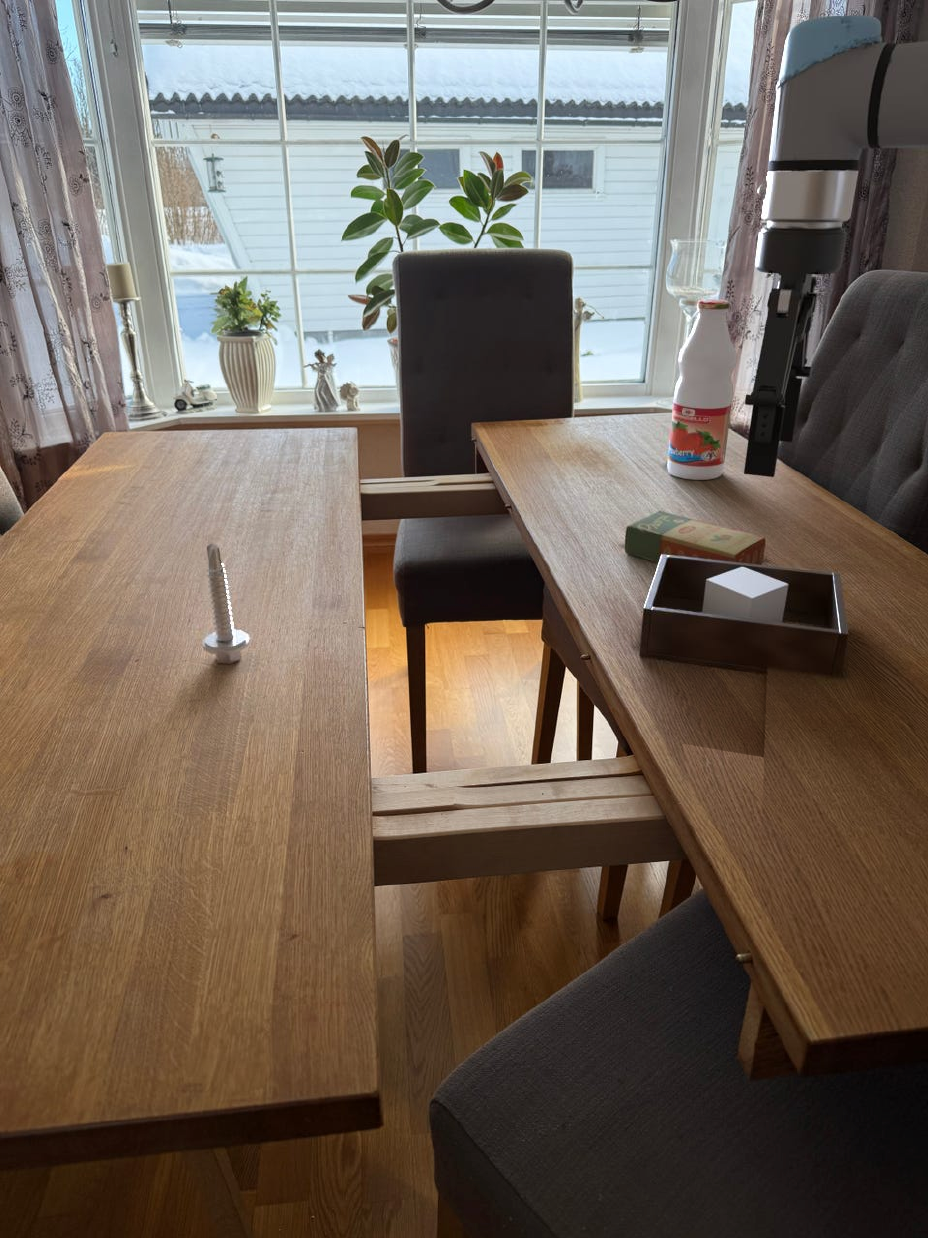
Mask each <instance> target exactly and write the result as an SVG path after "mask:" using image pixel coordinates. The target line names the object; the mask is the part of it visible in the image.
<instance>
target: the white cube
mask: <svg viewBox="0 0 928 1238" xmlns="http://www.w3.org/2000/svg"><path fill="white" fill-rule="evenodd" d="M787 590H788V584H787V583H784V582H782V581H779V580H776V579H774V578H771V577H769V576H766V575H763V574H761V573H758V572H756V571H753V570H750V569H748V568H745V567H740V568H737V569H734V570H731V571H729V572H726V573H723V574H720V575H717V576H714V577H712V578H709V579H706V586H705V594H704V602H703V610H702V613H707V614H715V615H723V616H731V617H739V618H747V619H755V620H763V621H771V622H779V623H783V621H782V619H783V614H784V608H785V602H786V596H787Z"/></svg>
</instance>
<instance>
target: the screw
mask: <svg viewBox="0 0 928 1238" xmlns="http://www.w3.org/2000/svg"><path fill="white" fill-rule="evenodd" d="M206 552H207V560H208V569H206V572H208V574H206V575H207V576H206V577H207V578H208V581H207V583H209V586H208V588H209V589H210V591H209V594H211V596H210V599H211V600H212V601H210V604H212V605H213V606H212V607H211V610H213V612H212V615H214V617H213V620H214V626H215V627H214V630H215V631H213V632H212V633H210V634H207V636H206V637H205V638H204V639H203V640H202V643H201V644H202V649H203V650H204V651H205V652H207V653H210V654H213V655H215V658H216V662H217V664H228V665H231V664H233V663H235V662H238V661H240V660H242V654H241V651H243V650H244V649H246V648H247V647H248V646H249V645H250V643H251V636H250V635H249V634H248V633H247V632H245V631H243V630H241V629H235V628H234V622H233V617H232V615H233V613H232V607H231V602H230V598H231V597H230V596H229V594H230V592H229V586H228V585H227V584H228V580H227V575H226V573H227V572H226V570H225V564H224V563H222V558H221V552H220V547H219V546H217V544H215V543H213V542H212V543H210V544H208V545H207V546H206Z"/></svg>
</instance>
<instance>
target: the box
mask: <svg viewBox="0 0 928 1238" xmlns="http://www.w3.org/2000/svg"><path fill="white" fill-rule="evenodd" d="M740 567H745V568H748V569H750V570H753V571H756V572H758V573H761V574H763V575H766V576H769V577H771V578H774V579H776V580H779V581H782V582H784V583H787V584H788V590H787V596H786V602H785V608H784V614H783V619H782V623H779V622H771V621H763V620H755V619H747V618H739V617H731V616H723V615H715V614H707V613H702V610H703V602H704V594H705V586H706V579H709V578H712V577H714V576H717V575H720V574H723V573H726V572H729V571H731V570H734V569H737V568H740ZM846 613H847V612H846V607H845V598H844V592H843V585H842V577H841V573H839V572H832V571H831V572H830V571H824V570H823V571H821V570H812V569H805V568H795V567H794V568H793V567H784V566H775V565H768V564H767V565H765V564H762V565H758V564H749V563H739V562H730V561H721V560H711V559H702V558H693V557H684V556H674V555H665V554H662V555H661V558H660V561H659V563H658V564H657V567H656V570H655V573H654V576H653V579H652V582H651V585H650V588H649V591H648V594H647V597H646V599H645V603H644V606H643V609H642V619H641V630H640V631H641V632H640V642H639V652H638V653H639V654H638V657H640V658H641V657H642V658H648V659H655V660H662V661H668V662H669V661H670V662H677V663H684V664H692V665H697V666H704V667H705V666H706V667H713V668H718V669H719V668H720V669H727V670H733V671H739V672H740V671H741V672H747V673H754V674H755V673H756V674H761V675H768V667H769V668H770V667H771V668H778V669H784V670H790V671H791V670H793V671H799V672H805V673H814V674H819V675H826V676H827V675H828V676H836V677H841V673H842V669H843V664H844V658H845V655H846V651H847V643H848V639H849V627H848V621H847V620H848V619H847V614H846ZM784 622H786V623H784ZM787 622H788V623H787ZM794 623H795V624H794ZM796 623H797V624H796ZM802 624H803V625H802ZM818 626H819V627H818ZM825 627H826V628H825Z"/></svg>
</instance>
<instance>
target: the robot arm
mask: <svg viewBox="0 0 928 1238" xmlns="http://www.w3.org/2000/svg"><path fill="white" fill-rule="evenodd" d="M780 65H781V66H780V71H779V77H778V81H777V83H776V85H775V92H776V95H775V96H776V97H775V104H774V112H773V122H772V131H771V138H770V140H771V141H770V148H769V158H768V165H767V171H768V172H767V176H766V181H767V183H762V184H760V185H759V187H758V188H757V194H758V195H759V196H761V197H765V198H764V199H763V205H762V213H761V218H762V220H763V221H765V222H767V227H763V228H761V231H759V232H758V237H757V246H756V247H757V248H756V254H755V262H754V267H755V269H756V270H757V271H759V272H761V273H766V274H777V275H779V280H778V283H777V284H778V285H777V287H776V288H775V287H772V288H771V290H770V292H769V295H768V300H767V303H766V311H767V313H766V314H767V316H766V319H765V320H766V321H765V324H764V328H763V329H764V330H763V337H762V341H761V347H760V351H759V357H758V361H757V368H756V372H755V377H754V382H753V388H752V391H751V393H750V394H745V399H744V405H745V406H752V410H751V418H750V423H749V424H750V425H749V433H748V440H747V446H746V454H745V463H744V470H743V474H745V475H752V476H759V477H766V478H767V477H768V478H774V477H775V474H776V469H777V462H778V456H779V455H778V454H779V447H780V442H784V443H785V442H786V443H792V442H793V441H794V435H795V429H796V422H797V415H798V410H799V403H800V396H801V390H802V384H803V378H810V377H811V372H812V366H806V365H807V363H808V358H807V356H808V346H809V339H810V331H811V328H812V324H813V317H814V313H815V310H816V306H817V302H818V293H817V292H815V290H816V289H815V287H817V283H818V280H817V277H816V276H818V275H820V276H821V275H830V274H832V275H833V274H836V273H838V272H839V271H840V270H841V268H842V266H843V260H844V254H845V248H846V242H847V237H848V232H846V228H843V222H848V221H849V220H850V219H851V217H852V211H853V205H854V201H855V192H856V187H857V183H858V182H857V181H858V175H859V165H860V157H861V154H862V151H863V149H871V150H880V149H913V148H914V149H915V148H916V149H924V148H926V149H928V40H925V41H917V42H916V41H915V42H906V43H905V42H903V43H899V42H896V43H894V42H893V43H890V42H883V37H882V23H881V20H880V19H878V18H877V17H875V16H871V15H864V14H863V15H862V14H850V15H829V16H820V17H815V18H810V19H806V20H804V21H803V20H802V21H801V22H798V23H797V24H796V25H794V26H793V27H792V28H791V30H790V31H789V32H788V34H787V36H786V39H785V43H784V48H783V55H782V60H781V64H780ZM813 275H816V276H813Z"/></svg>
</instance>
